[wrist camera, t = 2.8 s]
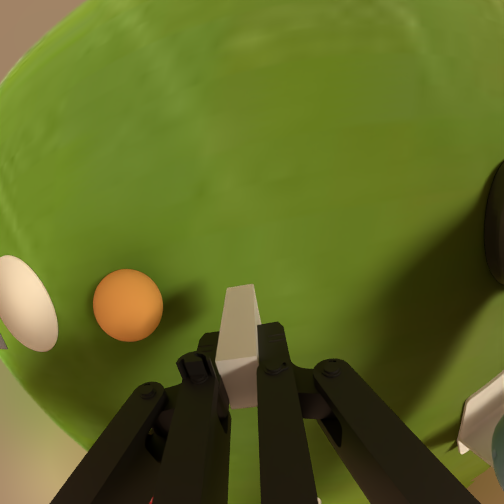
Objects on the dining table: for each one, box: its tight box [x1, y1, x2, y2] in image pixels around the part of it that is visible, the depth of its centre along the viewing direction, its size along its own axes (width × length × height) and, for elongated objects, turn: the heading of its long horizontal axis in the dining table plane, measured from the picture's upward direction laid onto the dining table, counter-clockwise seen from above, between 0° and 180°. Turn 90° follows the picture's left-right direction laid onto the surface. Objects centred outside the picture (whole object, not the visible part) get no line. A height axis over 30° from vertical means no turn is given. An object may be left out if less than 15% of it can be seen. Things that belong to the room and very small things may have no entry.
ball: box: [93, 269, 163, 342], centre depth 20 cm, size 6×6×6 cm
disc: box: [0, 255, 58, 352], centre depth 23 cm, size 12×12×1 cm
